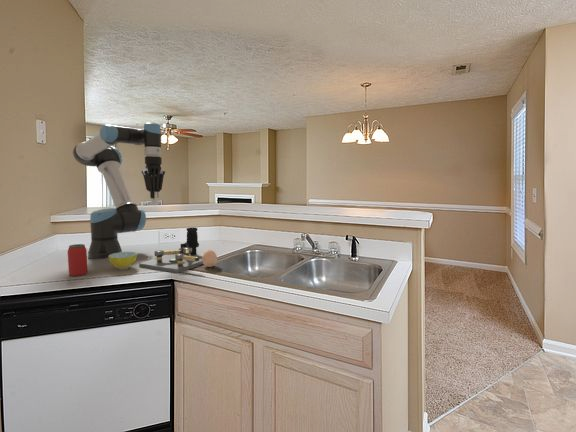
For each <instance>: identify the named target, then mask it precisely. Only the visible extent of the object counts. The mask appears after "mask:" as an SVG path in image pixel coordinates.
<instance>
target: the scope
mask: <svg viewBox="0 0 576 432" xmlns="http://www.w3.org/2000/svg"><path fill="white" fill-rule="evenodd" d="M186 231H187V232H186V242H184V243H180V247H179V248H178V250H182V251H183V248H187V247H190V248H192V253H190V256H197V248H199V246H200V244H199V239H198V238H199V237H198V227H187V228H186ZM182 254H185V253H182Z"/></svg>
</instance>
